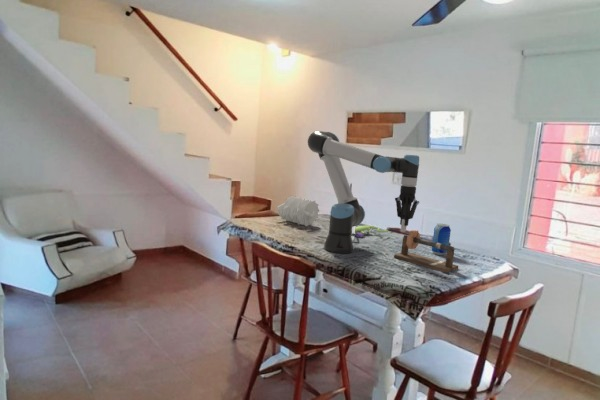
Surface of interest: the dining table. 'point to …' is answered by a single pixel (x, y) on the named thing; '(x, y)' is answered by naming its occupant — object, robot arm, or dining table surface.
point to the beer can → (441, 237)
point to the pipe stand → (427, 261)
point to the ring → (410, 239)
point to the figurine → (362, 228)
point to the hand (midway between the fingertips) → (403, 231)
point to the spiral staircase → (299, 211)
